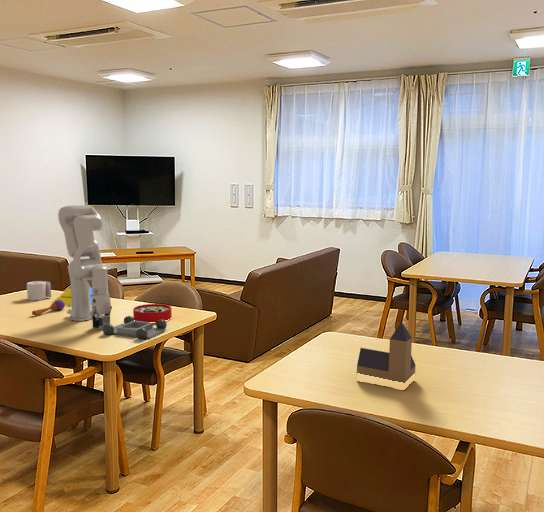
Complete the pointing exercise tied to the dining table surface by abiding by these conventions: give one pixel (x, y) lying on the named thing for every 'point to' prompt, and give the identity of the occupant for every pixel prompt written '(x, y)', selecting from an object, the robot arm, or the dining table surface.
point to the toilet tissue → (38, 290)
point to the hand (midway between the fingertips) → (101, 325)
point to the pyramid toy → (67, 297)
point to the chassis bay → (136, 328)
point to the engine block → (102, 321)
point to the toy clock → (152, 312)
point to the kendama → (55, 306)
